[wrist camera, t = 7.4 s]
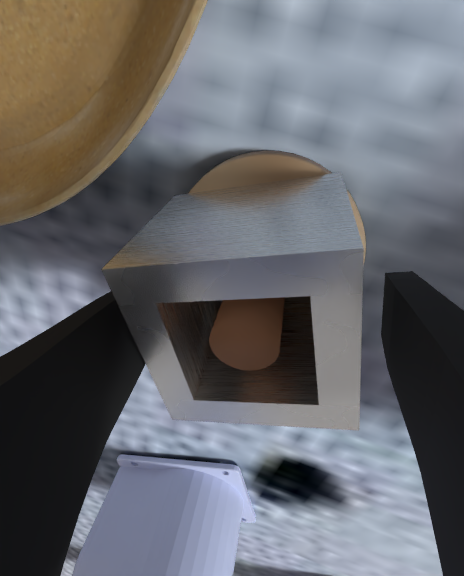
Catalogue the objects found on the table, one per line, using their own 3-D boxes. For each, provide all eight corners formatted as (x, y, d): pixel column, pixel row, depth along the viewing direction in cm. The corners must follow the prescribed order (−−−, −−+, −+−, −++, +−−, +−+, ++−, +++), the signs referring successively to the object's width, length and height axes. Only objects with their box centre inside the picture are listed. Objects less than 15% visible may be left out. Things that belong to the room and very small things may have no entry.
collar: (210, 318, 14) (172, 419, 10) (175, 195, 11) (101, 269, 7) (343, 314, 13) (359, 430, 9) (341, 171, 10) (363, 247, 6)
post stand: (203, 318, 15) (160, 422, 11) (156, 167, 12) (65, 232, 7) (361, 314, 14) (386, 436, 9) (365, 133, 10) (412, 191, 5)
